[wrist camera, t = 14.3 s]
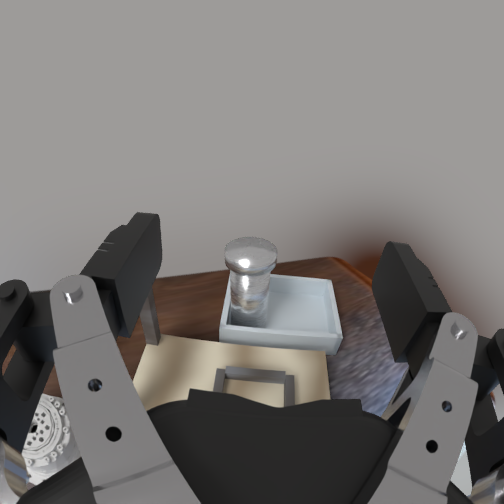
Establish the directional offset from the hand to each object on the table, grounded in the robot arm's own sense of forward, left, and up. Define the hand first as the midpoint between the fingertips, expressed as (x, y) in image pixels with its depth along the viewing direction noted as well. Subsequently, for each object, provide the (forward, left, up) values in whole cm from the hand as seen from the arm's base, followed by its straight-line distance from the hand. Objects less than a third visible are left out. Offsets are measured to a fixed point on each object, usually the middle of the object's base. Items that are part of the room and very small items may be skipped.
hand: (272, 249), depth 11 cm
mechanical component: (-17, -4, -22) cm, 28 cm away
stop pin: (-1, +16, -20) cm, 26 cm away
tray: (+3, +17, -21) cm, 28 cm away
